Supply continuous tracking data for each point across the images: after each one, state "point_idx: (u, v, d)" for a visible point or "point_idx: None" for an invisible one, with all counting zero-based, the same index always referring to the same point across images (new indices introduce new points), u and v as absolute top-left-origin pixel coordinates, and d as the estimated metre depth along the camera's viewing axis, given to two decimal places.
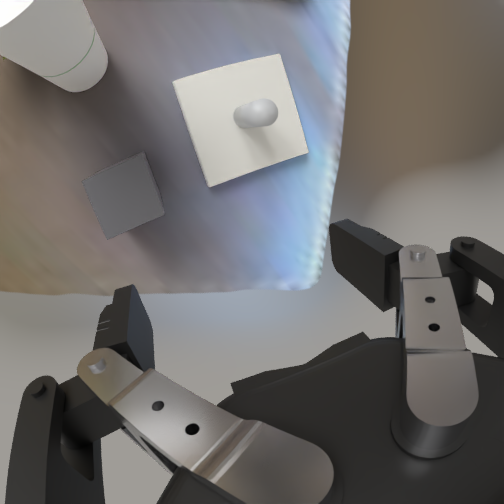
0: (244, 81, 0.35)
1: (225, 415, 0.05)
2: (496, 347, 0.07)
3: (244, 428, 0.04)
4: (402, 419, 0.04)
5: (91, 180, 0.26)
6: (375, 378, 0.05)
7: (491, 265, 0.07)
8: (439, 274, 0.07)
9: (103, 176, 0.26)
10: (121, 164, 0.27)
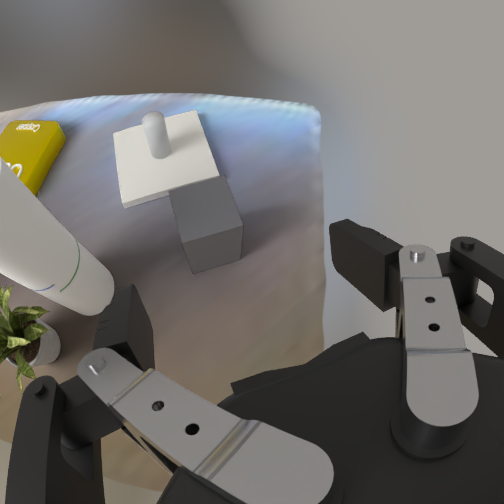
0: (132, 153, 0.44)
1: (225, 415, 0.05)
2: (496, 347, 0.07)
3: (244, 428, 0.04)
4: (402, 419, 0.04)
5: (182, 233, 0.31)
6: (375, 378, 0.05)
7: (491, 265, 0.07)
8: (439, 274, 0.07)
9: (181, 222, 0.31)
10: (173, 206, 0.32)
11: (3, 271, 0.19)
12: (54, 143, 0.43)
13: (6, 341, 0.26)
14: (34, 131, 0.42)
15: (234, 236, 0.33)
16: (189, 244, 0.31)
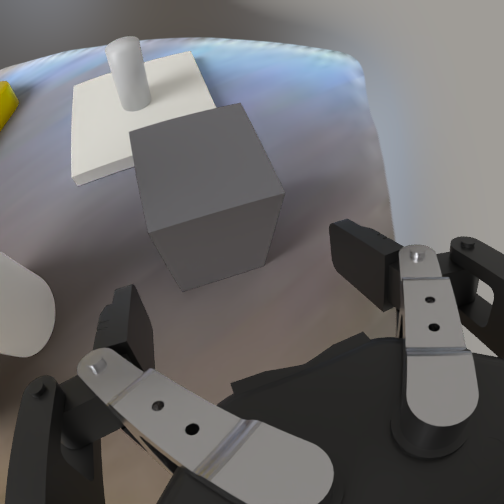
0: (95, 107, 0.27)
1: (225, 415, 0.05)
2: (496, 347, 0.07)
3: (244, 428, 0.04)
4: (402, 419, 0.04)
5: (151, 212, 0.13)
6: (375, 378, 0.05)
7: (491, 265, 0.07)
8: (439, 274, 0.07)
9: (149, 189, 0.14)
10: (136, 159, 0.14)
11: None
12: None
13: None
14: None
15: (262, 219, 0.16)
16: (166, 236, 0.14)
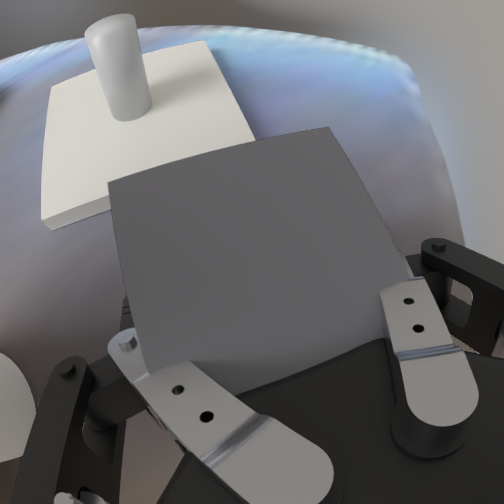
0: (75, 115, 0.19)
1: (241, 407, 0.05)
2: (479, 345, 0.07)
3: (256, 422, 0.04)
4: (402, 419, 0.04)
5: None
6: (375, 378, 0.05)
7: (467, 265, 0.07)
8: None
9: (160, 336, 0.06)
10: (124, 253, 0.07)
11: None
12: None
13: None
14: None
15: None
16: None
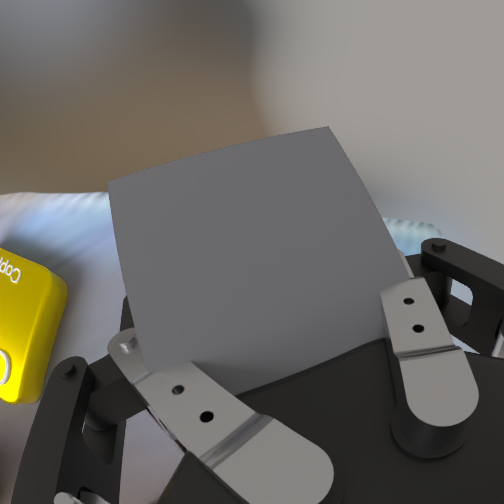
0: None
1: (241, 407, 0.05)
2: (479, 345, 0.07)
3: (256, 422, 0.04)
4: (402, 419, 0.04)
5: None
6: (375, 378, 0.05)
7: (467, 265, 0.07)
8: None
9: (160, 336, 0.06)
10: (124, 253, 0.07)
11: None
12: (50, 313, 0.26)
13: None
14: (12, 281, 0.26)
15: None
16: None
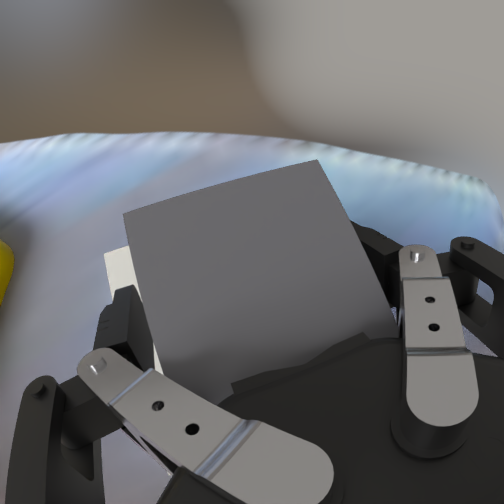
0: None
1: (225, 415, 0.05)
2: (496, 347, 0.07)
3: (244, 428, 0.04)
4: (402, 419, 0.04)
5: None
6: (375, 378, 0.05)
7: (491, 265, 0.07)
8: (439, 274, 0.07)
9: (174, 347, 0.07)
10: (141, 278, 0.08)
11: None
12: None
13: None
14: None
15: None
16: None
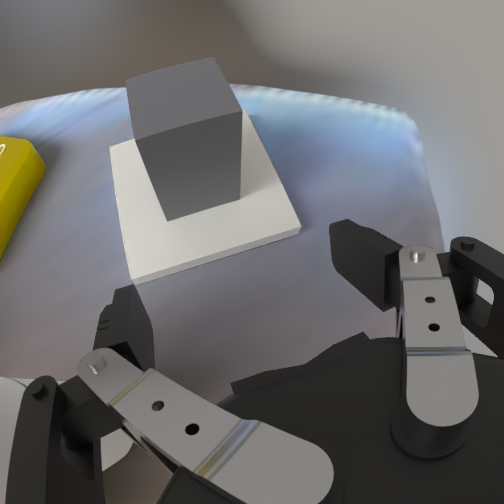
0: (142, 183, 0.26)
1: (225, 415, 0.05)
2: (496, 347, 0.07)
3: (244, 428, 0.04)
4: (402, 419, 0.04)
5: (138, 127, 0.16)
6: (375, 378, 0.05)
7: (491, 265, 0.07)
8: (439, 274, 0.07)
9: (138, 113, 0.17)
10: (129, 96, 0.17)
11: None
12: (23, 179, 0.25)
13: None
14: None
15: (228, 138, 0.19)
16: (149, 146, 0.17)
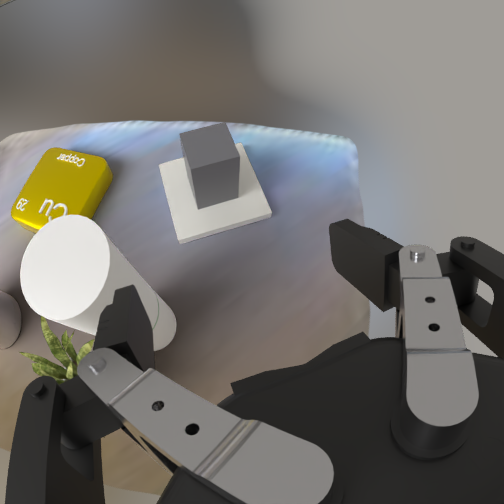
0: (182, 187, 0.47)
1: (225, 415, 0.05)
2: (496, 347, 0.07)
3: (244, 428, 0.04)
4: (402, 419, 0.04)
5: (191, 163, 0.37)
6: (375, 378, 0.05)
7: (491, 265, 0.07)
8: (439, 274, 0.07)
9: (190, 155, 0.37)
10: (183, 144, 0.38)
11: None
12: (101, 183, 0.46)
13: None
14: (78, 165, 0.45)
15: (233, 168, 0.39)
16: (196, 172, 0.37)
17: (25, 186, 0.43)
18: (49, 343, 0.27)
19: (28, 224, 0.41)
